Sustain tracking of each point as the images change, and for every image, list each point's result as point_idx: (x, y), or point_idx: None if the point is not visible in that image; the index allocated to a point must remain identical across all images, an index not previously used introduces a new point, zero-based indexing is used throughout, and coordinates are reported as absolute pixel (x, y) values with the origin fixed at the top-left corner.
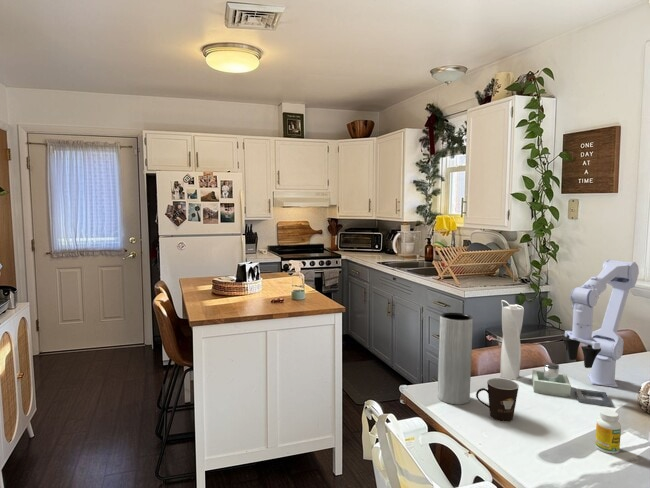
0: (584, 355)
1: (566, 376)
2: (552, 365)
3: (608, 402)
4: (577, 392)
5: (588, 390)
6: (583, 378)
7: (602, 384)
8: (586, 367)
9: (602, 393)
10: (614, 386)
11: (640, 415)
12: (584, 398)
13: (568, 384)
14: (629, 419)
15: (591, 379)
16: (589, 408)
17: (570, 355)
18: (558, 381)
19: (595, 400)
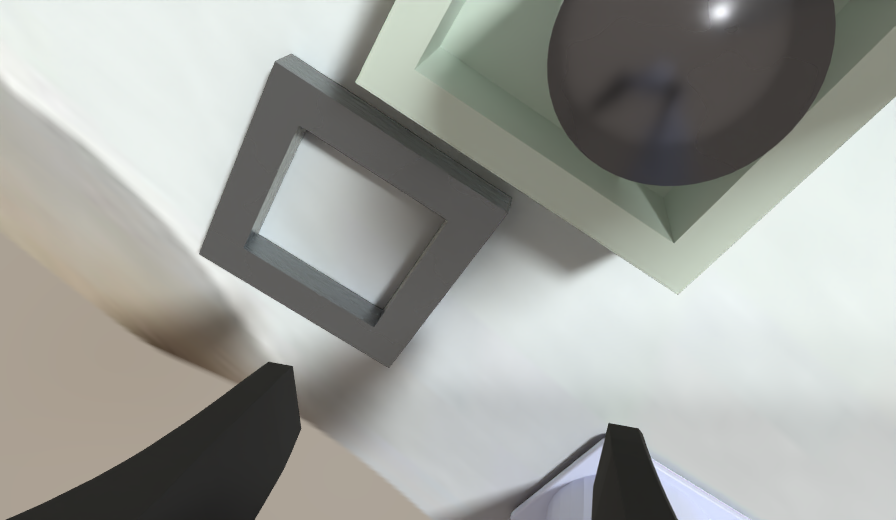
0: (137, 490)
1: (617, 243)
2: (641, 49)
3: (208, 242)
4: (408, 156)
5: (439, 283)
6: (740, 469)
7: (563, 474)
8: (261, 368)
9: (369, 331)
10: (518, 507)
11: (111, 301)
12: (275, 114)
13: (386, 77)
14: (37, 194)
15: (669, 484)
16: (172, 50)
17: (614, 483)
18: None
19: (239, 176)
